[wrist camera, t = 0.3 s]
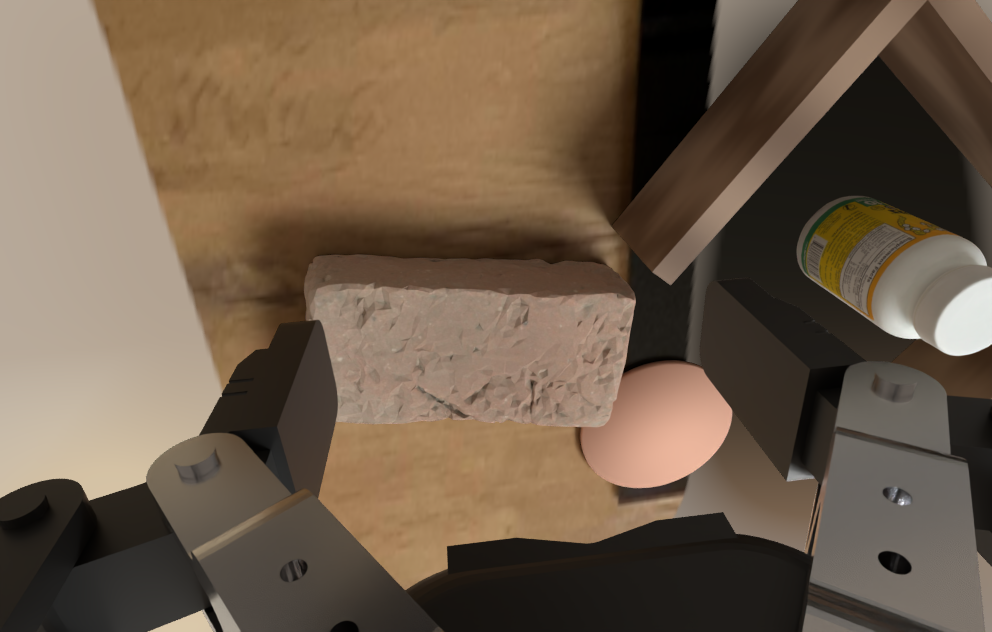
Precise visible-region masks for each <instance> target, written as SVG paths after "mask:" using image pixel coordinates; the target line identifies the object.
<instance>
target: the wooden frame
mask: <svg viewBox="0 0 992 632" xmlns="http://www.w3.org/2000/svg"><path fill="white" fill-rule="evenodd" d="M877 55H878V56H879V57H880V58H881V59H882V60H883V61H884V62H885V64H886V65H887V66H888V67H889V68H890V69H891V71H892V72H893V73H894V74H895V75H896V76H897V78H898V79H899V80H900V81H901V82H902V83H903V85H904V86H905V87H906V88H907V89H908V91H909V92H910V93H911V94H912V95H913V96H914V98H916V100H917V101H918V102H919V103H920V104H921V106H922V107H923V108H924V109H925V110H926V111H927V113H928V114H929V115H930V116H931V117H932V118H933V120H934V121H935V122H936V123H937V124H938V125H939V127H940V128H941V129H942V130H943V131H944V132H945V134H946V135H947V136H948V137H949V138H950V139H951V141H952V142H953V143H954V144H955V145H956V146H957V148H958V149H959V150H960V151H961V152H962V153H963V155H964V156H965V157H966V158H967V159H968V160H969V162H970V163H971V164H972V165H973V166H974V167H975V169H976V170H977V171H978V172H979V173H980V174H981V176H982V177H983V178H984V179H985V180H986V181H987V182H988V184H989V185H990V186H991V187H992V23H991V21H990V20H989V19H988V17H987V16H986V14H985V13H984V12H983V10H982V9H981V7H980V6H979V5H978V3H977V2H976V1H975V0H798V1H797V2H796V4H795V5H794V6H793V7H792V9H791V10H790V11H789V12H788V13H787V15H786V16H785V17H784V18H783V19H782V21H781V22H780V23H779V24H778V25H777V27H776V28H775V29H774V30H773V31H772V33H771V34H770V35H769V36H768V37H767V39H766V40H765V41H764V42H763V44H762V45H761V46H760V47H759V48H758V50H757V51H756V52H755V53H754V54H753V56H752V57H751V58H750V59H749V60H748V62H747V63H746V64H745V65H744V67H743V68H742V69H741V70H740V71H739V73H738V74H737V75H736V76H735V77H734V79H733V80H732V81H731V82H730V84H729V85H728V86H727V87H726V88H725V90H724V91H723V92H722V93H721V94H720V96H719V97H718V98H717V99H716V100H715V102H714V103H713V104H712V105H711V106H710V108H709V109H708V110H707V111H706V112H705V114H704V115H703V116H702V117H701V118H700V120H699V121H698V122H697V123H696V125H695V126H694V127H693V128H692V129H691V131H690V132H689V133H688V134H687V135H686V137H685V138H684V139H683V140H682V141H681V143H680V144H679V145H678V146H677V148H676V149H675V150H674V151H673V152H672V154H671V155H670V156H669V157H668V158H667V160H666V161H665V162H664V163H663V164H662V166H661V167H660V168H659V169H658V170H657V172H656V173H655V174H654V175H653V177H652V178H651V179H650V180H649V181H648V183H647V184H646V185H645V186H644V187H643V189H642V190H641V191H640V192H639V193H638V195H637V196H636V197H635V198H634V200H633V201H632V202H631V203H630V204H629V206H628V207H627V208H626V209H625V210H624V212H623V213H622V214H621V215H620V216H619V218H618V219H617V220H616V221H615V222H614V224H613V225H612V227H613V229H614V230H615V231H616V232H617V233H618V234H619V235H620V236H621V237H622V239H623V240H624V241H625V242H626V243H627V244H628V245H629V246H630V248H631V249H632V250H633V251H634V252H635V253H636V254H637V255H638V256H639V258H640V259H641V260H642V261H643V262H644V263H645V264H646V265H647V266H648V268H649V269H650V270H651V271H652V272H653V273H655V274H656V275H657V276H659V277H660V278H661V279H663V280H664V281H666V282H667V283H668V284H670V285H671V284H672V283H673V282H674V281H675V280H676V279H677V278H678V277H679V275H680V274H681V273H682V272H683V271H684V270H685V269H686V268H687V267H688V265H689V264H690V263H691V262H692V261H693V260H694V259H695V258H696V257H697V255H698V254H699V253H700V252H701V251H702V250H703V249H704V248H705V247H706V245H707V244H708V243H709V242H710V241H711V240H712V239H713V238H714V237H715V235H716V234H717V233H718V232H719V231H720V230H721V229H722V227H724V225H725V224H726V223H727V222H728V221H729V220H730V219H731V218H732V217H733V215H734V214H735V213H736V212H737V211H738V210H739V209H740V208H741V207H742V205H743V204H744V203H745V202H746V201H747V200H748V199H749V198H750V197H751V195H752V194H753V193H754V192H755V191H756V190H757V189H758V188H759V187H760V185H761V184H762V183H763V182H764V181H765V180H766V179H767V178H768V177H769V175H770V174H771V173H772V172H773V171H774V170H775V169H776V168H777V167H778V165H779V164H780V163H781V162H782V161H783V160H784V159H785V157H786V156H787V155H788V154H789V153H790V152H791V151H792V150H793V149H794V148H795V146H796V145H797V144H798V143H799V142H800V141H801V140H802V139H803V138H804V137H805V135H806V134H807V133H808V132H809V131H810V130H811V129H812V128H813V127H814V125H815V124H816V123H817V122H818V121H819V120H820V119H821V118H822V117H823V115H824V114H825V113H826V112H827V111H828V110H829V109H830V108H831V106H832V105H833V104H834V103H835V102H836V101H837V100H838V99H839V98H840V97H841V95H842V94H843V93H844V92H845V91H846V90H847V89H848V88H849V86H850V85H851V84H852V83H853V82H854V81H855V80H856V79H857V78H858V77H859V76H860V74H861V73H862V72H863V71H864V70H865V69H866V68H867V66H868V65H869V64H870V63H871V62H872V61H873V60H874V59H875V58H876V57H877ZM891 363H896V364H901V365H905V366H908V367H911V368H914V369H916V370H919V371H921V372H923V373H925V374H927V375H929V376H931V377H932V378H934V379H935V380H936V381H938V382H939V383H940V384H941V385H942V386H943V388H944V389H945V391H946V394H947V395H948V396H960V397H973V398H985V399H992V344H991V345H990V346H988V347H986V348H984V349H982V350H980V351H978V352H975V353H972V354H968V355H962V356H954V355H949V354H946V353H944V352H942V351H940V350H938V349H937V348H935V347H934V346H932V345H931V344H929V343H927V342H925V341H923V340H922V339H921V338H920V339H916V340H915V341H914V342H913V343H912V344H911V345H910V346H909V347H908V348H906V349H905V350H904V351H903V352H902V353H901V354H900V355H899V356H898V357H896V358H895V359H894V360H893V361H892V362H891Z"/></svg>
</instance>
